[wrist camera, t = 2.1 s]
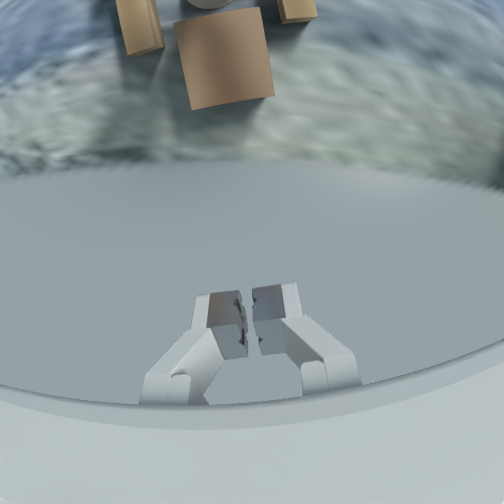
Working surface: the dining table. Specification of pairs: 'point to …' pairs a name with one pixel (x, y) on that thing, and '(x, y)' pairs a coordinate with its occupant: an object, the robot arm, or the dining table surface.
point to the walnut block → (224, 57)
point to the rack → (149, 30)
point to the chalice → (209, 3)
